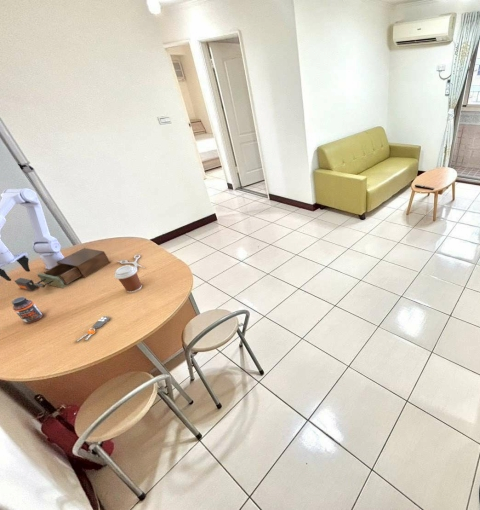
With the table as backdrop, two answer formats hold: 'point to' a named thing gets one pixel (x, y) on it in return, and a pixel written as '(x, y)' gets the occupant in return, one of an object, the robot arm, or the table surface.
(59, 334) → the table surface
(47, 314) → the table surface
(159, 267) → the table surface
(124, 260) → the scissors
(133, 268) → the coffee cup
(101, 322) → the key chain
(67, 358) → the table surface
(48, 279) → the drawer
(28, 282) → the black block with tab
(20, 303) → the supplement bottle
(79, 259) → the cabinet
